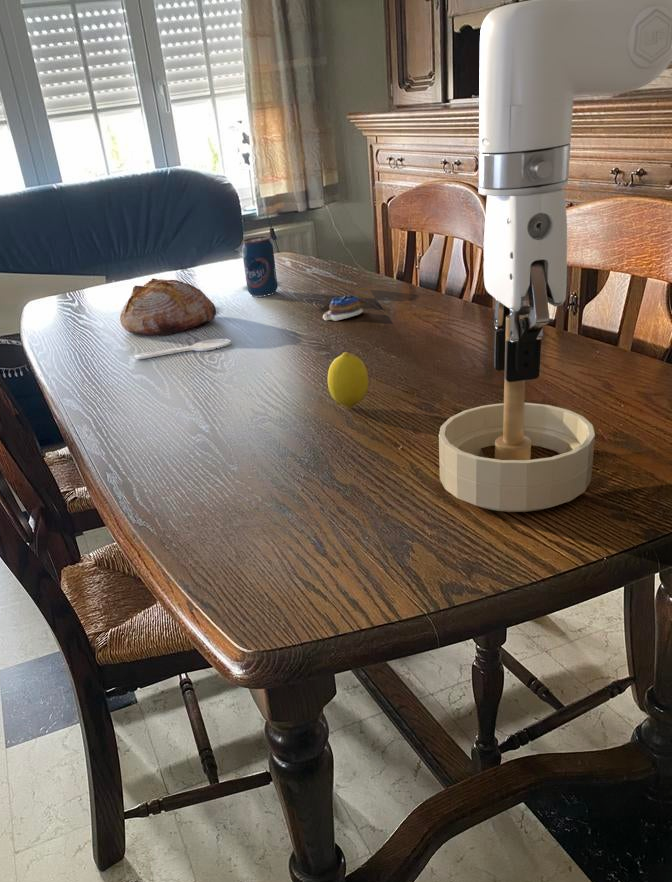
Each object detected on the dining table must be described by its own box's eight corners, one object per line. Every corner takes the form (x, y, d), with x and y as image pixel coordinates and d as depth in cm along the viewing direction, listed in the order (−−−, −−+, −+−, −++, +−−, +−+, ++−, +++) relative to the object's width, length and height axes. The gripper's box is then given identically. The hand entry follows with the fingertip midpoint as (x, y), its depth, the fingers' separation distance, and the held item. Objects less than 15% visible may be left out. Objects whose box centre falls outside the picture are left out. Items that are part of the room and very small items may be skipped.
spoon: (134, 354, 139) (133, 351, 139) (229, 338, 141) (229, 335, 141) (134, 362, 134) (133, 359, 134) (232, 346, 136) (232, 343, 136)
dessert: (364, 304, 149) (359, 284, 144) (365, 331, 146) (360, 311, 141) (325, 310, 151) (319, 290, 145) (325, 337, 148) (319, 317, 143)
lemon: (343, 399, 107) (338, 344, 103) (377, 403, 104) (374, 347, 100) (322, 413, 103) (317, 357, 99) (357, 418, 100) (352, 360, 96)
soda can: (245, 298, 169) (238, 243, 163) (251, 291, 174) (243, 237, 169) (276, 296, 167) (269, 240, 162) (280, 288, 173) (273, 234, 168)
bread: (123, 329, 161) (112, 281, 157) (213, 313, 164) (204, 266, 160) (123, 344, 147) (111, 292, 142) (222, 326, 149) (213, 275, 145)
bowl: (557, 444, 86) (560, 395, 83) (615, 506, 73) (621, 450, 70) (426, 461, 86) (425, 413, 84) (460, 526, 73) (460, 471, 70)
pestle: (523, 466, 81) (529, 309, 73) (534, 480, 78) (542, 318, 70) (490, 470, 81) (492, 314, 73) (500, 485, 78) (504, 323, 70)
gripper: (606, 173, 58) (587, 397, 67) (533, 159, 72) (526, 345, 81) (509, 186, 58) (503, 408, 67) (456, 170, 72) (457, 354, 81)
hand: (516, 372), depth 74 cm, fingers closed
